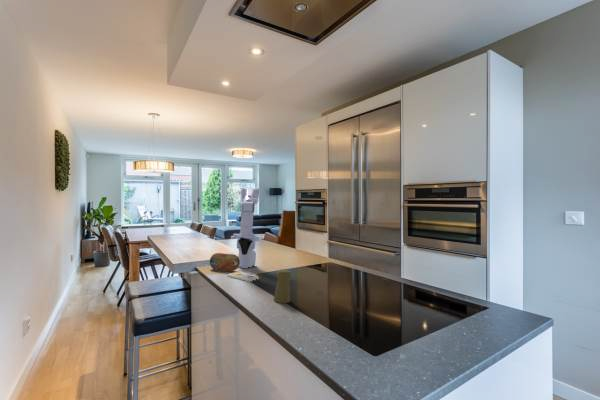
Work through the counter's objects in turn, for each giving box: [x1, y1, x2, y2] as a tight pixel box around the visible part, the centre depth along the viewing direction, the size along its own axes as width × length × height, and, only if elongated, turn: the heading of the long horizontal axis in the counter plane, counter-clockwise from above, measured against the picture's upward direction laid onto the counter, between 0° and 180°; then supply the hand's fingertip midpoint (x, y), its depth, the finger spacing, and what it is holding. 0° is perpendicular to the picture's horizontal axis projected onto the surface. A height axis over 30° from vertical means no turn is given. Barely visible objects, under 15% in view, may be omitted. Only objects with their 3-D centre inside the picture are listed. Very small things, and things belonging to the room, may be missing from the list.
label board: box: [226, 271, 260, 283], centre depth 137 cm, size 6×13×1 cm, turn 61°
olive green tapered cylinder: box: [273, 268, 292, 304], centre depth 108 cm, size 6×6×11 cm
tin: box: [209, 252, 240, 272], centre depth 149 cm, size 15×3×8 cm, turn 79°
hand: (244, 254), depth 144 cm, fingers closed
